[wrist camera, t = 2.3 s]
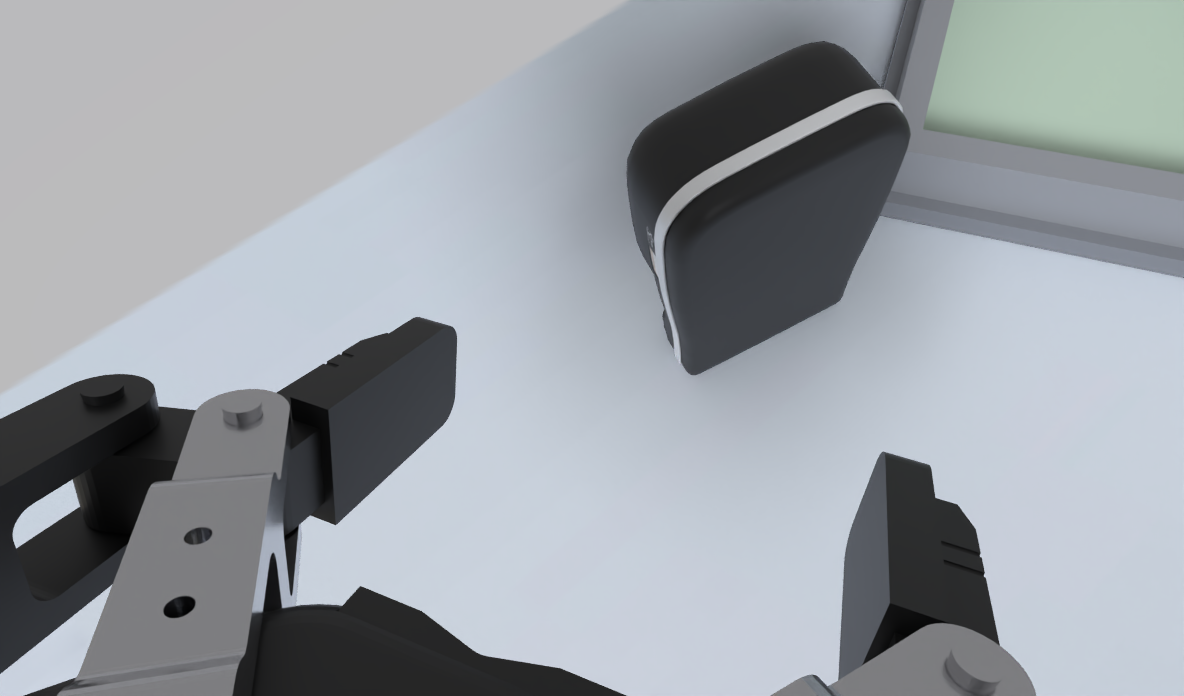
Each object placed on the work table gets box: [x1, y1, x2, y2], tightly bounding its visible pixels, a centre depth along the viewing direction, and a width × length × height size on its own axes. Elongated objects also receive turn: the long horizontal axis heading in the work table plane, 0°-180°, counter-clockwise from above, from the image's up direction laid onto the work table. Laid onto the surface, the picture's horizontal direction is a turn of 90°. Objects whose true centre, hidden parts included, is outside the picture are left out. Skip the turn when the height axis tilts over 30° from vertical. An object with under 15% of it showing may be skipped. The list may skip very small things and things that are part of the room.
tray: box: [880, 0, 1184, 278], centre depth 26 cm, size 14×14×4 cm
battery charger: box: [627, 41, 911, 375], centre depth 22 cm, size 7×4×11 cm, turn 116°
